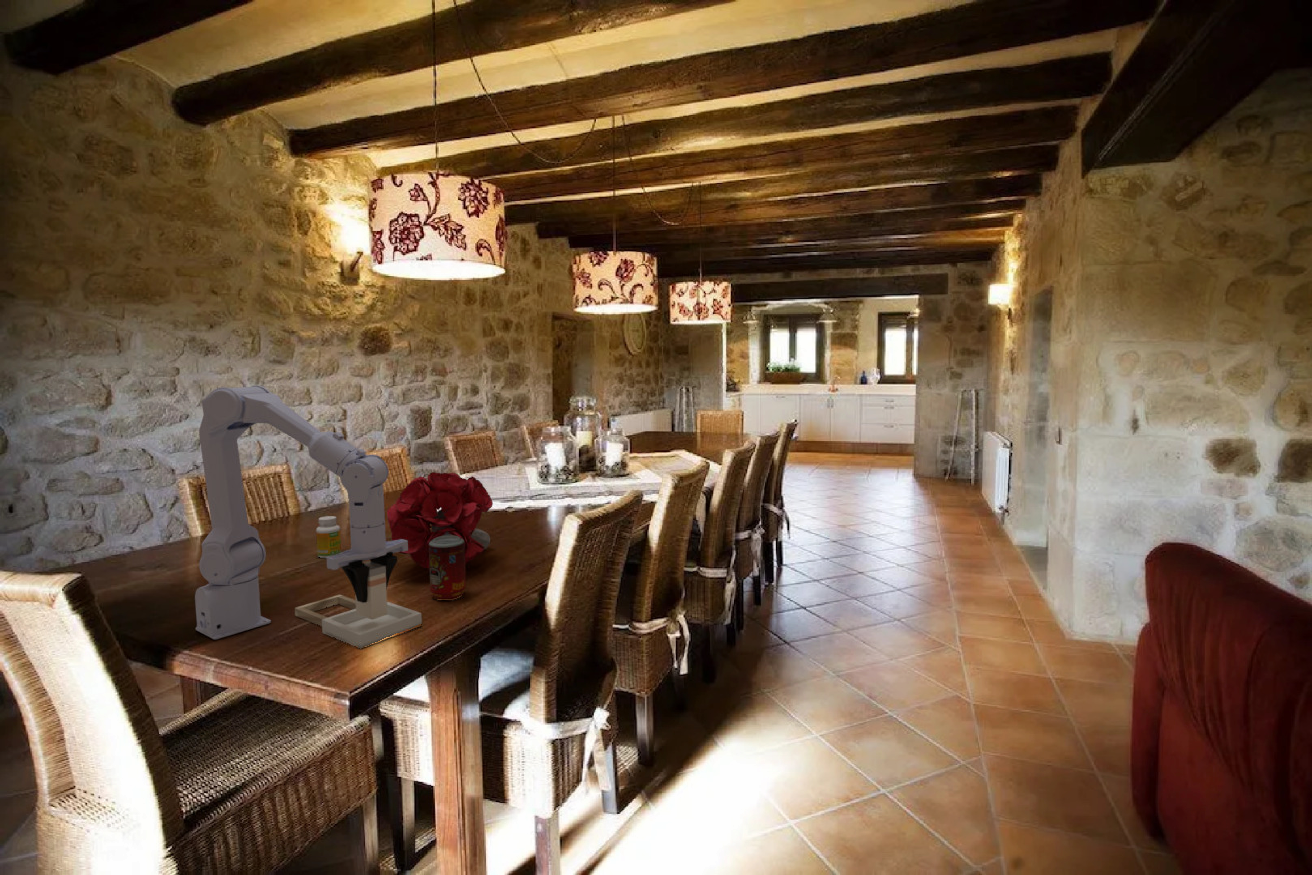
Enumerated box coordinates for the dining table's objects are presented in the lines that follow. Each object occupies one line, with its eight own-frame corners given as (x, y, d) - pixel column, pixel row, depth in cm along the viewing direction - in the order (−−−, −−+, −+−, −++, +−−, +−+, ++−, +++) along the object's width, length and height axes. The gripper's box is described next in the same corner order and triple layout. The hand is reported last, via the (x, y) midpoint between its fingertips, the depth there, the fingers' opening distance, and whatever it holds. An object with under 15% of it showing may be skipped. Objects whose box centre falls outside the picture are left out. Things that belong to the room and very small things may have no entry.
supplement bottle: (331, 559, 163) (329, 520, 162) (312, 558, 164) (310, 519, 163) (346, 553, 168) (344, 515, 167) (327, 552, 169) (325, 514, 168)
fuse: (372, 619, 116) (369, 570, 115) (355, 613, 119) (353, 565, 118) (387, 614, 119) (385, 565, 118) (371, 608, 122) (369, 561, 121)
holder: (326, 628, 120) (325, 620, 120) (295, 615, 126) (294, 607, 126) (371, 613, 127) (371, 605, 127) (340, 601, 133) (339, 594, 133)
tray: (360, 649, 111) (360, 635, 111) (322, 632, 118) (321, 619, 117) (421, 626, 121) (421, 613, 121) (383, 612, 128) (382, 599, 127)
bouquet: (430, 576, 170) (355, 546, 144) (460, 491, 179) (394, 448, 152) (503, 591, 164) (438, 562, 137) (530, 501, 172) (474, 458, 146)
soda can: (422, 599, 135) (420, 540, 133) (446, 588, 141) (445, 532, 140) (450, 604, 132) (448, 544, 131) (473, 593, 138) (471, 536, 137)
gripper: (341, 536, 109) (345, 615, 110) (416, 519, 121) (419, 591, 122) (318, 530, 113) (322, 606, 114) (393, 514, 125) (397, 584, 126)
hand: (371, 598), depth 119 cm, fingers closed on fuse, 3 cm apart
